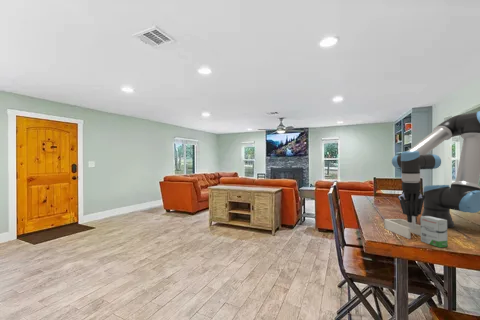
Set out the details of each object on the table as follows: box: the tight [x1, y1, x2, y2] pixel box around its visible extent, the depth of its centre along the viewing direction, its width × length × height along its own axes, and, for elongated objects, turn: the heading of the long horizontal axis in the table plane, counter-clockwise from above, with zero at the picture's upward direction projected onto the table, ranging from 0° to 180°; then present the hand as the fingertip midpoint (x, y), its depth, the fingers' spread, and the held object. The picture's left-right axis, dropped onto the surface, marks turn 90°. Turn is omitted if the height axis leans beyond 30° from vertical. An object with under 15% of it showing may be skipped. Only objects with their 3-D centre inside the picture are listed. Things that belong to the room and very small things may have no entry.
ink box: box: [420, 215, 449, 248], centre depth 104 cm, size 9×5×12 cm, turn 10°
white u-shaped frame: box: [383, 218, 421, 240], centre depth 120 cm, size 10×18×5 cm, turn 3°
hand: (412, 228), depth 116 cm, fingers closed
